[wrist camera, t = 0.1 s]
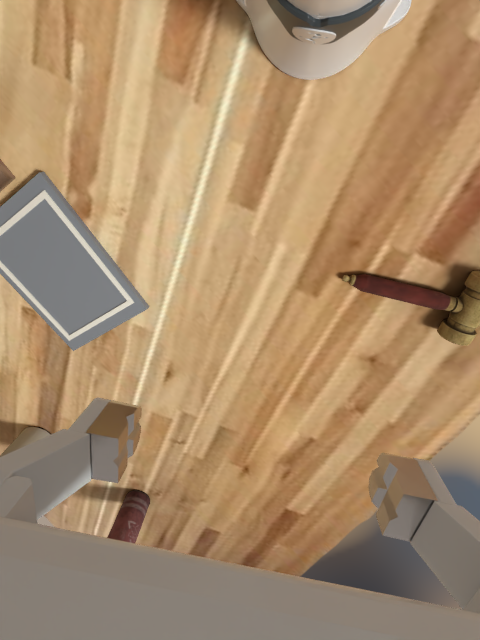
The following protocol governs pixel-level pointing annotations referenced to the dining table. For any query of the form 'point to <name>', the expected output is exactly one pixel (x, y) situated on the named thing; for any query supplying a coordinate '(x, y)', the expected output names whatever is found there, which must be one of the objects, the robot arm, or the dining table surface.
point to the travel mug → (26, 439)
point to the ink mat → (62, 266)
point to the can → (130, 517)
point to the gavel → (432, 303)
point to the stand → (5, 176)
